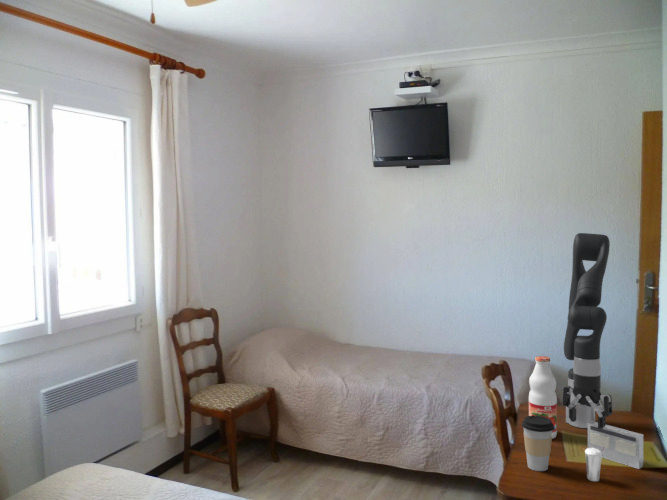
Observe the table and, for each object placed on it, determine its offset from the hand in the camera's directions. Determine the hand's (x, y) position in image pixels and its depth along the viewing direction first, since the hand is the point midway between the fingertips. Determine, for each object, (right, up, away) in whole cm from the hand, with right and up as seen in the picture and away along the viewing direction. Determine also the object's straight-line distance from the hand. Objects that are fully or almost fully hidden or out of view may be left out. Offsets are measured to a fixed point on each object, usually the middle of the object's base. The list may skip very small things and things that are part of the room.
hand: (586, 424), depth 170 cm
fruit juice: (-2, -13, +30) cm, 33 cm away
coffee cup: (-13, -15, +4) cm, 20 cm away
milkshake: (0, -15, -5) cm, 16 cm away
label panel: (+13, -14, +8) cm, 20 cm away
